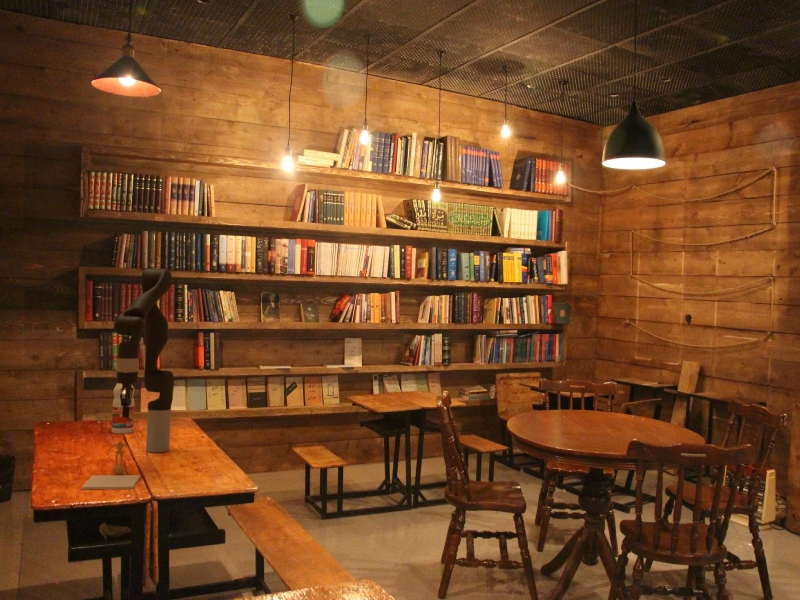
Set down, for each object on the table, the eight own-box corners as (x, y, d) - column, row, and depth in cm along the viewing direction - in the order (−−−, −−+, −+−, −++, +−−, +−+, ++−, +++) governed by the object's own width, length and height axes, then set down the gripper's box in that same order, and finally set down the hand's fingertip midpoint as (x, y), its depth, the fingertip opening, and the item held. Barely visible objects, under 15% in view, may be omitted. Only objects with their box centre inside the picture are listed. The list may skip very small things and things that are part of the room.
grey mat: (92, 477, 249) (92, 475, 249) (140, 477, 252) (140, 475, 252) (81, 489, 234) (81, 487, 234) (132, 488, 237) (132, 486, 237)
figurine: (104, 477, 250) (106, 443, 250) (106, 473, 256) (108, 439, 256) (130, 476, 252) (131, 442, 252) (131, 472, 258) (132, 439, 258)
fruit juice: (136, 430, 335) (138, 371, 335) (128, 434, 325) (130, 373, 325) (116, 429, 335) (119, 370, 335) (107, 433, 326) (110, 372, 326)
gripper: (120, 368, 270) (118, 413, 270) (113, 371, 257) (111, 420, 257) (141, 368, 271) (139, 414, 271) (135, 372, 258) (133, 420, 258)
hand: (125, 416), depth 264 cm, fingers closed
